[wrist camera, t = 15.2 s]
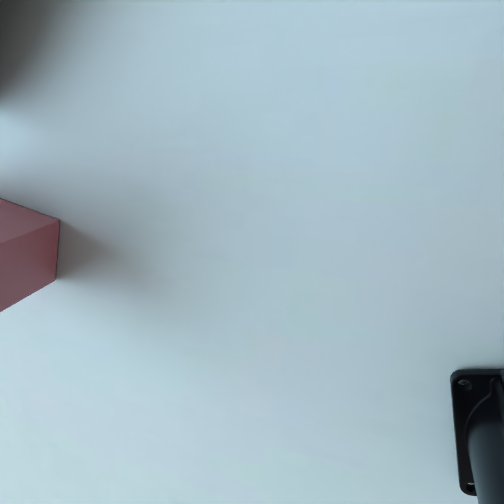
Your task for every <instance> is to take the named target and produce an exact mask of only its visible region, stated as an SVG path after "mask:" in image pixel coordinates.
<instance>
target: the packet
mask: <svg viewBox="0 0 504 504" xmlns="http://www.w3.org/2000/svg"><path fill="white" fill-rule="evenodd" d="M59 225H60V220H58V219H55V218H52V217H49V216H47V215H44V214H41V213H38V212H36V211H33V210H30V209H27V208H25V207H22V206H19V205H16V204H14V203H11V202H8V201H5V200H2V199H0V312H1V311H3V310H5V309H6V308H8V307H10V306H12V305H13V304H15V303H17V302H19V301H20V300H22V299H24V298H26V297H27V296H29V295H31V294H32V293H34V292H36V291H38V290H39V289H41V288H43V287H45V286H46V285H48V284H50V283H52V282H53V281H55V279H56V266H57V252H58V238H59Z"/></svg>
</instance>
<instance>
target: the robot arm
mask: <svg viewBox="0 0 504 504" xmlns="http://www.w3.org/2000/svg"><path fill="white" fill-rule="evenodd" d="M460 380H467V381H468V383H467V384H464V385H462V384H459V383H458V382H459V381H460ZM450 384H451V395H452V407H453V418H454V430H455V442H456V453H457V465H458V476H459V484H460V488H461V490H462V491H463V492H464V493H465V494H467V495H471V496H477V498H478V503H479V504H504V369H467V370H457V371H455V372H453V374H452V375H451V377H450ZM468 483H475V484H473V485H470V484H468Z"/></svg>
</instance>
